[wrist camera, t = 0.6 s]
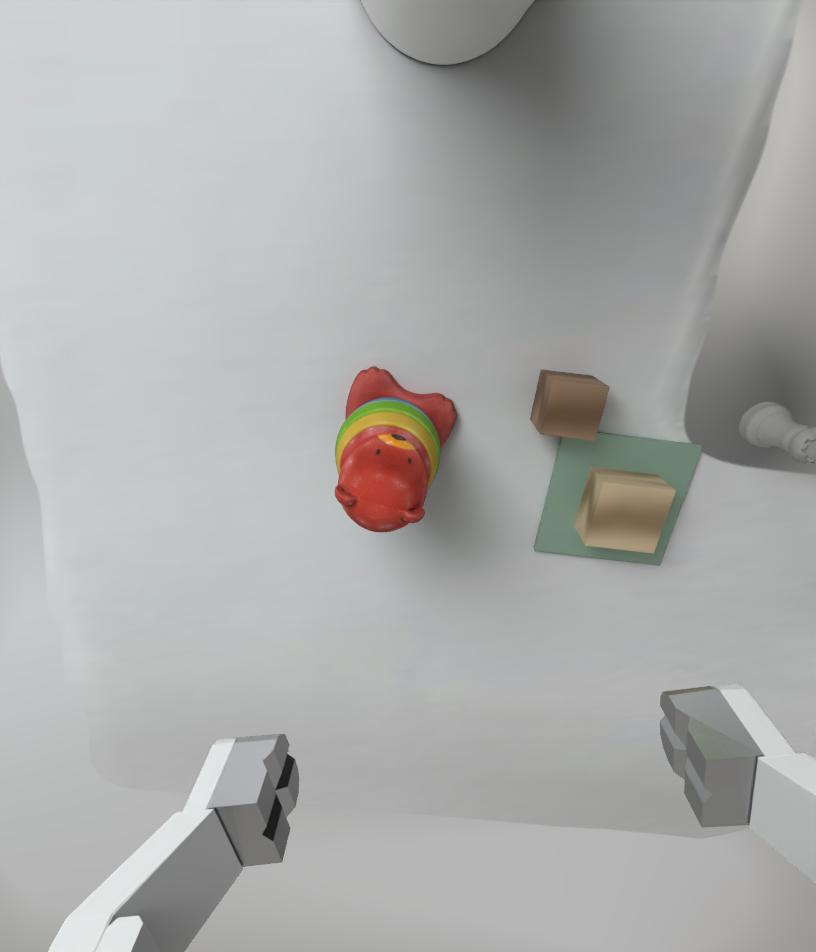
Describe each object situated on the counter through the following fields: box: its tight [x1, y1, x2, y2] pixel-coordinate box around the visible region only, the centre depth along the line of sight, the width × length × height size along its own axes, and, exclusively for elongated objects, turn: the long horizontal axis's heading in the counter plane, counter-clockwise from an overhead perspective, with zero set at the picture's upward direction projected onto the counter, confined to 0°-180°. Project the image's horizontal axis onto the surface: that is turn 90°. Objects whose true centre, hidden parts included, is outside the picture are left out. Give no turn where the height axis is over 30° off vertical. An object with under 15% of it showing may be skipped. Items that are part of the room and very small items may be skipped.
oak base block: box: [574, 467, 676, 554], centre depth 51 cm, size 7×7×4 cm
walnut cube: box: [530, 370, 609, 441], centre depth 47 cm, size 5×5×5 cm
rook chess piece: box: [739, 402, 816, 463], centre depth 46 cm, size 4×4×8 cm
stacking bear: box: [335, 367, 457, 532], centre depth 42 cm, size 11×10×18 cm
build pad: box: [534, 432, 703, 565], centre depth 53 cm, size 14×14×1 cm
